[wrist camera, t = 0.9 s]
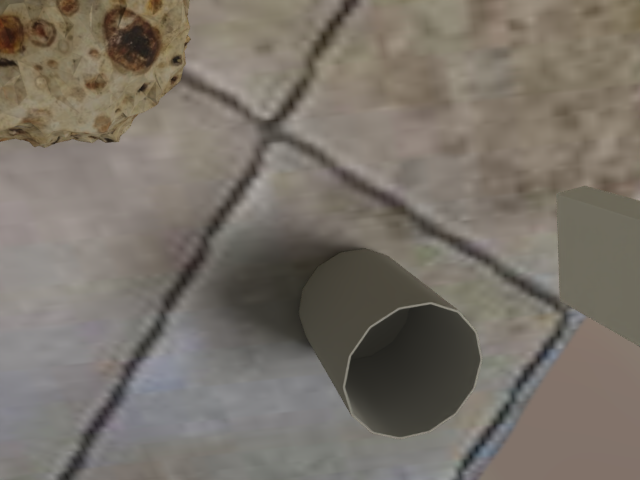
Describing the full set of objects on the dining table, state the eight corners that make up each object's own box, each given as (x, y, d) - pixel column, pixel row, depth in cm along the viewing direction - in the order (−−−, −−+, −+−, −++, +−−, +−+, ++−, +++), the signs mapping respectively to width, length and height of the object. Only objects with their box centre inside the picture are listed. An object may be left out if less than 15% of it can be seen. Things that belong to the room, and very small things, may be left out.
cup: (302, 365, 40) (345, 452, 31) (294, 258, 38) (339, 317, 28) (409, 345, 42) (480, 420, 33) (408, 242, 40) (485, 292, 30)
